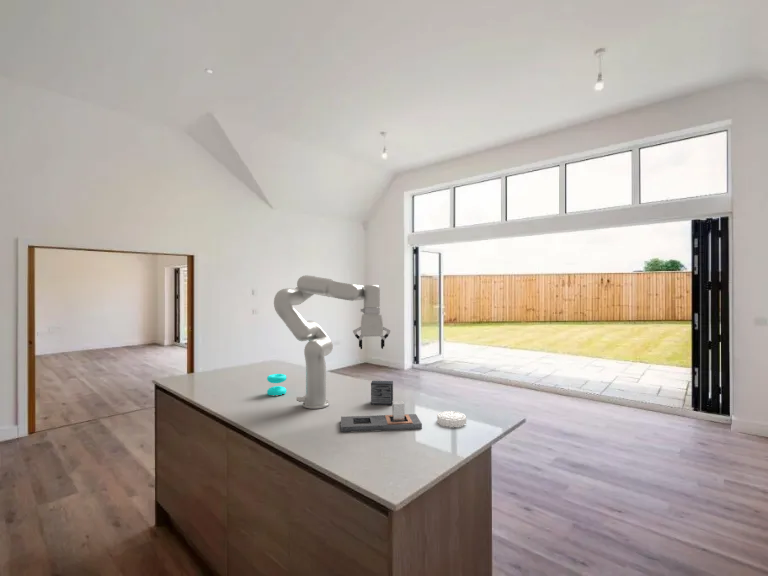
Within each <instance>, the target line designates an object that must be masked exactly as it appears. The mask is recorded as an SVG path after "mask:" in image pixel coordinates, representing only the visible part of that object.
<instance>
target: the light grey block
mask: <svg viewBox="0 0 768 576" xmlns="http://www.w3.org/2000/svg"><path fill="white" fill-rule="evenodd" d="M391 407H392V408H391V409H392V410H391V412H392V413H391V415H392V422H405V421H404V414H405V402H404V401H403V400H393V401H392V405H391Z"/></svg>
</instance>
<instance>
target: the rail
mask: <svg viewBox="0 0 768 576" xmlns="http://www.w3.org/2000/svg"><path fill="white" fill-rule="evenodd" d="M422 426H423V424H422V421H421V420H420V418H419V416H418V415H417V413H409V414H405V413H404V422H392V414H383V415H382V414H381V415H380V414H378V415H358V416H357V415H355V416H354V415H352V416H351V415H350V416H348V415H347V416H341V417H340V432H341V433H352V432H351V431H357V432H372V431H371V430H381V431H398V430H399V431H401V430H400V429H406V430H422V429H423V427H422Z"/></svg>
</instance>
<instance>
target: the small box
mask: <svg viewBox="0 0 768 576" xmlns="http://www.w3.org/2000/svg"><path fill="white" fill-rule="evenodd" d="M392 401H394V380H372V381H371V382H370V405H371V406H373V404H374V405H375V406H377V405H378V406H392Z"/></svg>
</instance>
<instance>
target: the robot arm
mask: <svg viewBox="0 0 768 576" xmlns="http://www.w3.org/2000/svg"><path fill="white" fill-rule="evenodd" d="M296 286H297V287H295V288H290V287H289V288H288V287H287V288H281V289H279V290H278V291H277V292H276V293H275V295H274V299H273V307H274V311H275V312H276V314H277V315H278V317H279V318H280V319H281V320H282V322H283V323H284V324H285V326H286V327H287V329H289V331H290V332H291V333H292V335H293V336H294V337H295V339H296V340H298V342H307V343H305V346H304V349H303V352H304V360H305V395H303V396H296V402H298V403H302V407H303V408H306V409H310V410H311V409H312V410H313V409H314V410H315V409H316V410H317V409H324V408H327V407H329V406H330V401H329V400H327V366H326V360H325V357H326V356H329V354H331V353H332V351H333V347H334V345H333V344H334V343H333V342H332V340H331V338H330V337H329V336H328V334H327V332H325V331H324V329H323V328H322V327H321V325H319V323H317V322H316V321H314V320H306V319H305V318H304V317H303V316H302V314H301V313H300V312H299V311H298V310H297V309H296V308H295V307H294V306H298V305H301V304H303V303H304V302H306V301H308V299H310V298H311V297H313V296H314V295H316V296H322V297H328V298H333V299H338V300H345V301H350V302H353V301H362V300H363V308H360V313H362V315H361V320H360V326H359V327H357V328H355V329H353V330H352V333H353V334H354V336H355V338H357V339H358V347H359V348H360V350H362V349H363V338H364V337H380V338H381V340H380V349H382V350H383V349H384V347H385V340H386V339H387V338H388V337H389V335H390V333H391V330H390V329H389V328H387V327H385V326H384V323H383V321H384V320H383V315H382V314H381V287H380V285H378V284H365V285H364V284H358V283H357V284H356V283H348V282H347V283H345V282H339V281H335V280H333V279H331V278H326V277H320V276H315V275H308V274H307V275H302V276H300V277H299V278H298V279H297V282H296ZM359 331H360V335H358V333H357V332H359ZM384 331H385V332H386V333H385V334H384Z"/></svg>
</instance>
